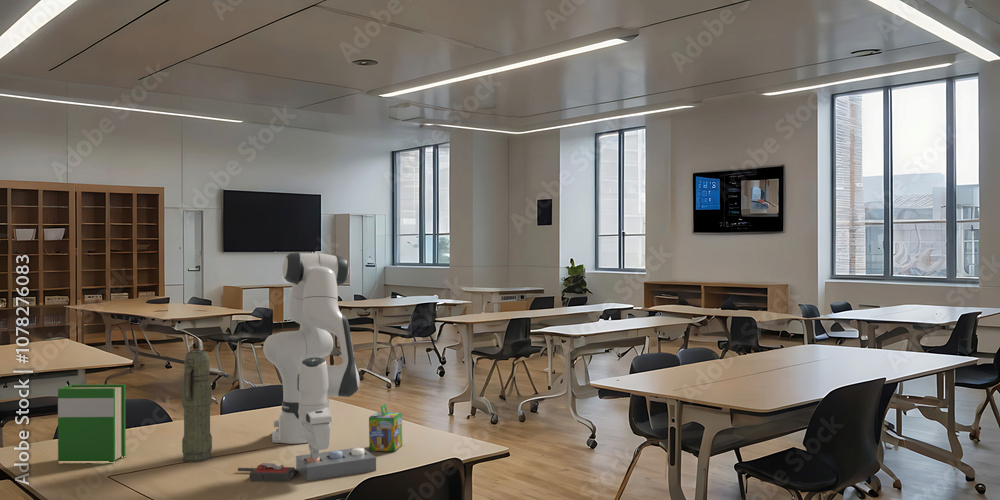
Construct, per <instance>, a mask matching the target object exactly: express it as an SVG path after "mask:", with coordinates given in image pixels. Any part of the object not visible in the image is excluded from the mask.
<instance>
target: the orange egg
mask: <svg viewBox="0 0 1000 500" xmlns="http://www.w3.org/2000/svg"><path fill="white" fill-rule="evenodd" d="M319 461H320V457H319V456H318V459H312V458H311V457H307V458H306V462H307V463H312V462H319Z"/></svg>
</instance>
